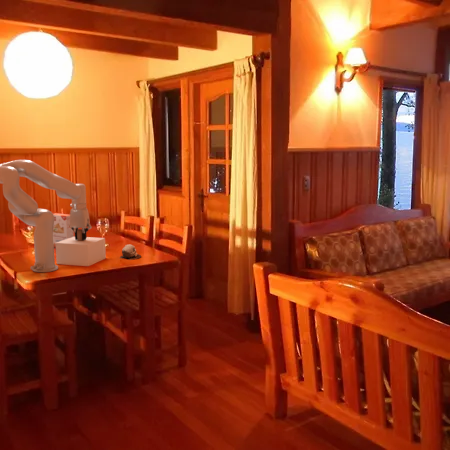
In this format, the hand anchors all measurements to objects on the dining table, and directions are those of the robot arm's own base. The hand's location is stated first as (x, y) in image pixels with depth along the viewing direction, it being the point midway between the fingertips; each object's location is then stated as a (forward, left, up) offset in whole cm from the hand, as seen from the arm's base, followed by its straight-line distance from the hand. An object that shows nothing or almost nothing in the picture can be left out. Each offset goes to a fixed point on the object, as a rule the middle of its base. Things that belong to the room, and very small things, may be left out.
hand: (80, 239), depth 288 cm
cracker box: (+28, +30, -12) cm, 43 cm away
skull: (+16, -22, -13) cm, 30 cm away
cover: (0, 0, -12) cm, 12 cm away
